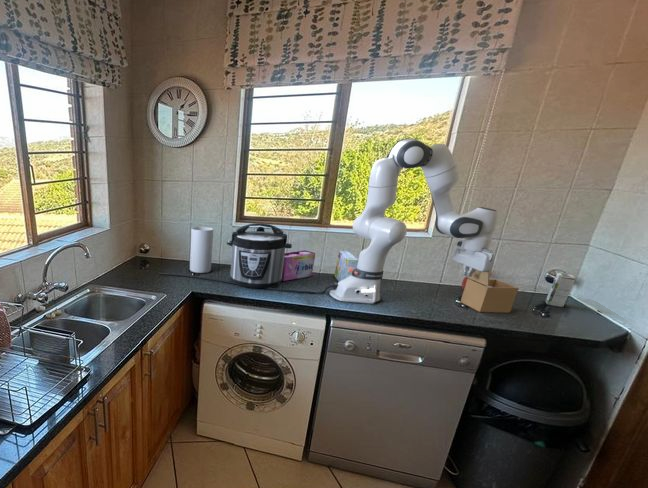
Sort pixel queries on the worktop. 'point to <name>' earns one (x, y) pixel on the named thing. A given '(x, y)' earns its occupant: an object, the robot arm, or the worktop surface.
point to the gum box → (298, 265)
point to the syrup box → (560, 289)
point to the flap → (481, 277)
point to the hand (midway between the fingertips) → (467, 276)
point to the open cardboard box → (489, 296)
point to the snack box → (345, 265)
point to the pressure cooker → (257, 256)
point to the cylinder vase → (201, 249)
